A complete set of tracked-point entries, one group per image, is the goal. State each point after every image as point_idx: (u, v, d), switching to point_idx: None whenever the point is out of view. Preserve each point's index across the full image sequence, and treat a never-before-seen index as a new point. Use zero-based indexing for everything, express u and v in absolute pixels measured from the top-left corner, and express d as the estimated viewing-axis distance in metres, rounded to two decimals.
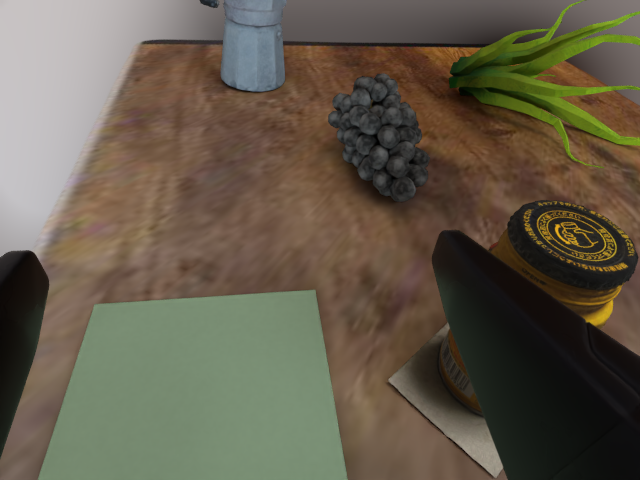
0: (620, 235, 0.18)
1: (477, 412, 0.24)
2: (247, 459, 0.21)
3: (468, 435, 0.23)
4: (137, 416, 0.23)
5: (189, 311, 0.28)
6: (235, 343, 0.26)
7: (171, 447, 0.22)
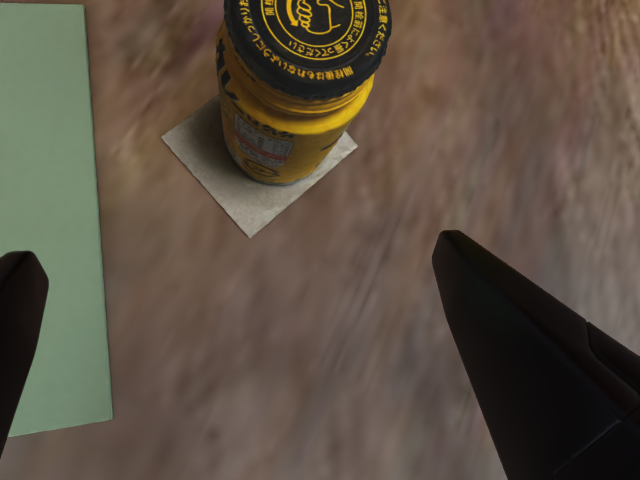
0: (377, 17, 0.13)
1: (252, 177, 0.23)
2: None
3: (236, 199, 0.23)
4: None
5: None
6: None
7: None
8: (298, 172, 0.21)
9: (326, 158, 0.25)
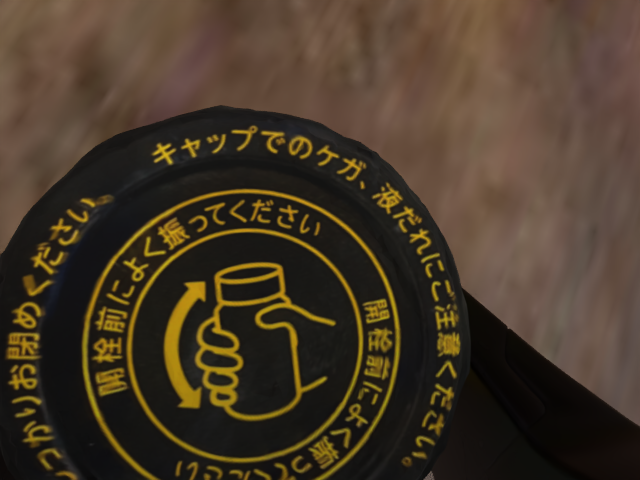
0: (432, 341, 0.05)
1: None
2: None
3: None
4: None
5: None
6: None
7: None
8: None
9: None
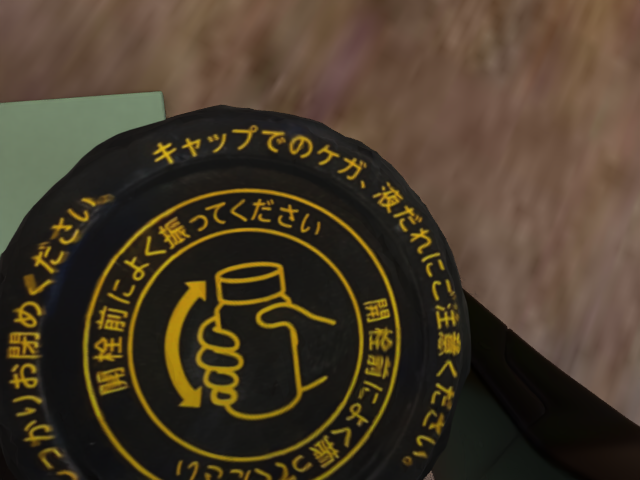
0: (433, 341, 0.05)
1: None
2: None
3: None
4: None
5: None
6: (18, 208, 0.16)
7: None
8: None
9: None
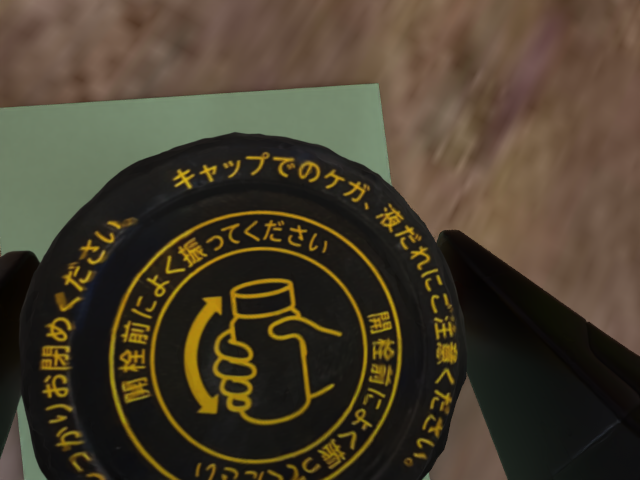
0: (432, 350, 0.05)
1: None
2: None
3: None
4: None
5: (166, 127, 0.16)
6: None
7: None
8: None
9: None
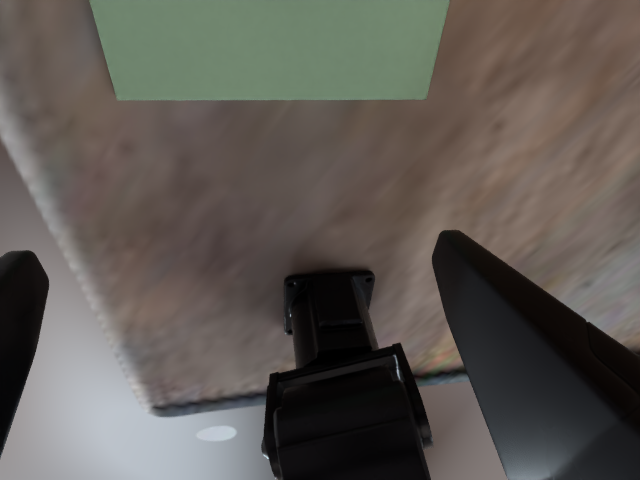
0: None
1: None
2: None
3: None
4: None
5: None
6: None
7: None
8: None
9: None
